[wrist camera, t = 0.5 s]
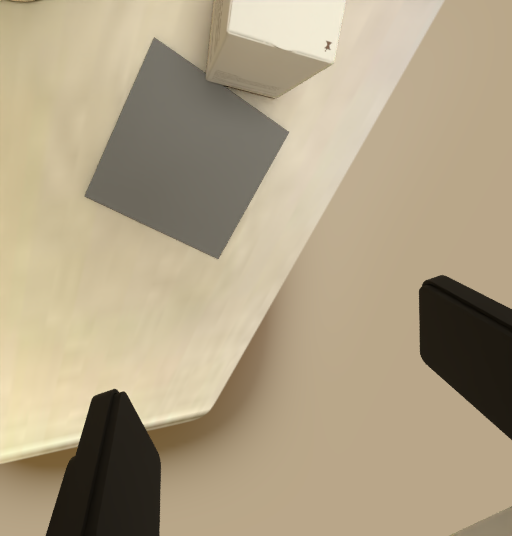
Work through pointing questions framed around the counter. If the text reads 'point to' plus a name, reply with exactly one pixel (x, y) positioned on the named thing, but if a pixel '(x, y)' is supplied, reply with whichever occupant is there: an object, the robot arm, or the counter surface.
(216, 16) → the supplement box
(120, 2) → the counter surface
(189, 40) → the counter surface
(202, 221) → the mat
